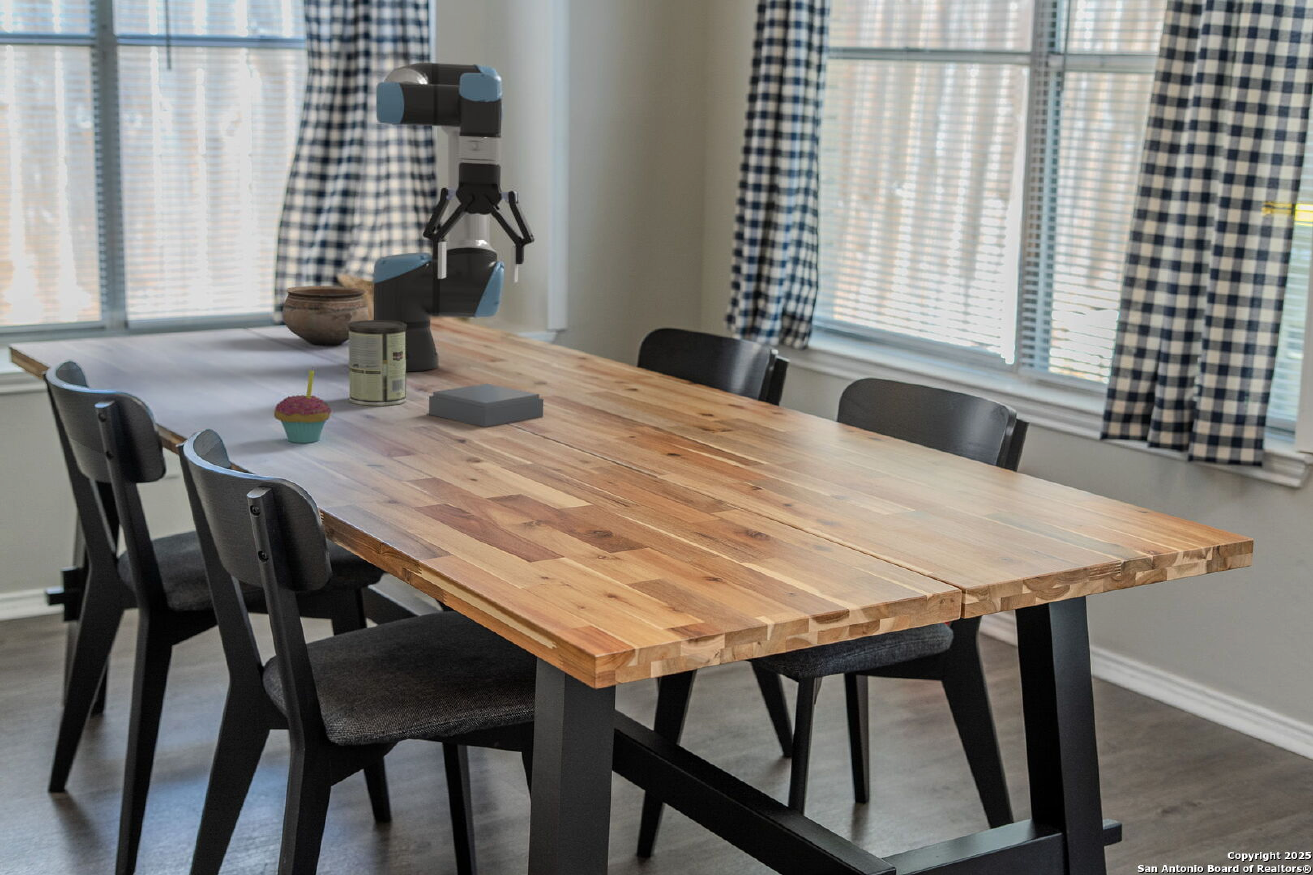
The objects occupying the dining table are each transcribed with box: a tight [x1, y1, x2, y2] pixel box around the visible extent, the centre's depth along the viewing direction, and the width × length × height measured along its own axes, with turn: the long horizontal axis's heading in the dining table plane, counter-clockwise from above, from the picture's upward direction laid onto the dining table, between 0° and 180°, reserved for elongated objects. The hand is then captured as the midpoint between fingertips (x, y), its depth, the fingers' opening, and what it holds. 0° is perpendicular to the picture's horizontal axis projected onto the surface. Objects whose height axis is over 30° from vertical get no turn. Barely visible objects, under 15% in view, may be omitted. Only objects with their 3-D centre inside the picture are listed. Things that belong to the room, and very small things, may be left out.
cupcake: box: [273, 365, 332, 444], centre depth 213 cm, size 9×8×12 cm
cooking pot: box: [281, 285, 370, 347], centre depth 308 cm, size 25×19×12 cm
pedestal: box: [428, 383, 544, 428], centre depth 238 cm, size 14×14×4 cm
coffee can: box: [348, 319, 407, 407], centre depth 246 cm, size 10×10×14 cm
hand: (477, 280), depth 250 cm, fingers open, 13 cm apart
